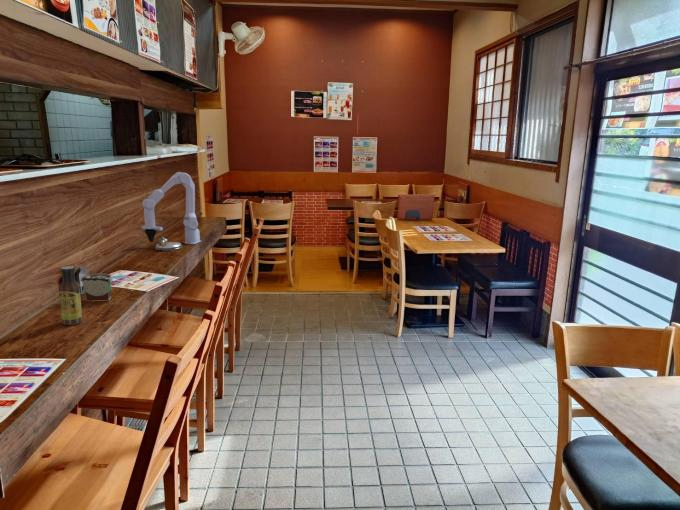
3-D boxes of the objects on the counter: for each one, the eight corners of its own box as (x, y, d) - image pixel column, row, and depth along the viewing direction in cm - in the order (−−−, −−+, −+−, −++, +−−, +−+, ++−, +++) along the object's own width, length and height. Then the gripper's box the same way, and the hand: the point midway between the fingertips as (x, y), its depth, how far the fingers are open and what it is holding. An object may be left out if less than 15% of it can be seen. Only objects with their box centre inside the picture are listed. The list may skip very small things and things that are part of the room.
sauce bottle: (58, 325, 162) (51, 269, 158) (68, 319, 169) (62, 264, 164) (77, 326, 162) (70, 269, 158) (86, 319, 169) (80, 265, 164)
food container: (121, 297, 193) (118, 273, 191) (112, 302, 187) (110, 277, 185) (92, 296, 194) (89, 272, 192) (82, 300, 188) (80, 276, 186)
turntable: (164, 243, 290) (163, 235, 289) (185, 244, 288) (185, 237, 287) (151, 248, 277) (150, 240, 276) (173, 249, 275) (173, 241, 274)
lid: (161, 243, 286) (161, 236, 285) (169, 243, 285) (168, 237, 284) (157, 244, 281) (156, 238, 280) (164, 245, 280) (164, 238, 279)
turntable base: (164, 245, 291) (163, 243, 291) (186, 246, 289) (186, 244, 289) (150, 250, 277) (150, 248, 277) (174, 251, 274) (174, 250, 274)
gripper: (134, 219, 278) (136, 242, 281) (157, 220, 276) (159, 243, 279) (141, 217, 285) (143, 240, 288) (163, 218, 283) (165, 241, 286)
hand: (151, 241), depth 284 cm, fingers closed
